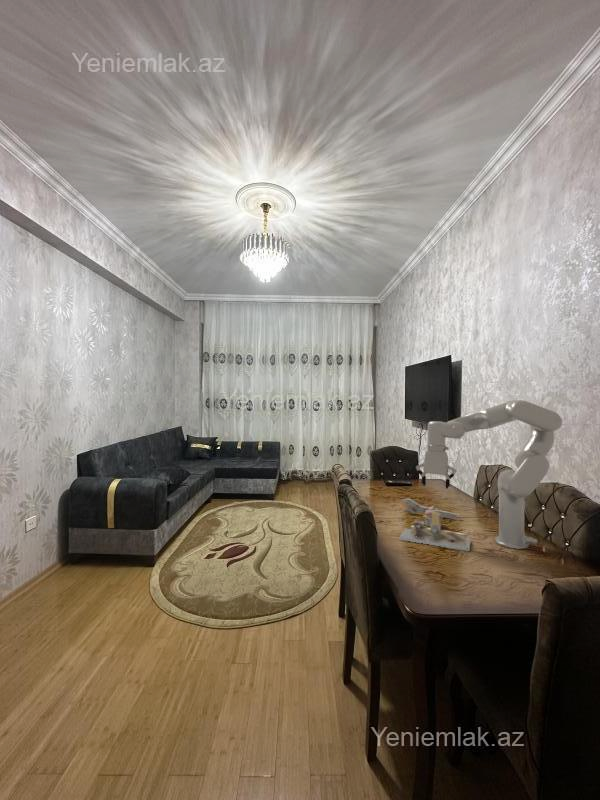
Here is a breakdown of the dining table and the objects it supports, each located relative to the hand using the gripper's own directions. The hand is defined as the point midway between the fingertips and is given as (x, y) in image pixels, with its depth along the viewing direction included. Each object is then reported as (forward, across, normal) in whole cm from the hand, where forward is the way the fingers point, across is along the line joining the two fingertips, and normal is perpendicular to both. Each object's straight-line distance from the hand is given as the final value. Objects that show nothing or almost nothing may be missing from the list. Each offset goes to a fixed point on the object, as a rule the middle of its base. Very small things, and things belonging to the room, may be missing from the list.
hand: (435, 486), depth 164 cm
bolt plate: (+23, -1, +4) cm, 23 cm away
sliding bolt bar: (+22, -2, +2) cm, 22 cm away
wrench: (+23, +6, -32) cm, 40 cm away
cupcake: (+23, +3, -16) cm, 28 cm away
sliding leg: (+21, -1, +2) cm, 21 cm away
